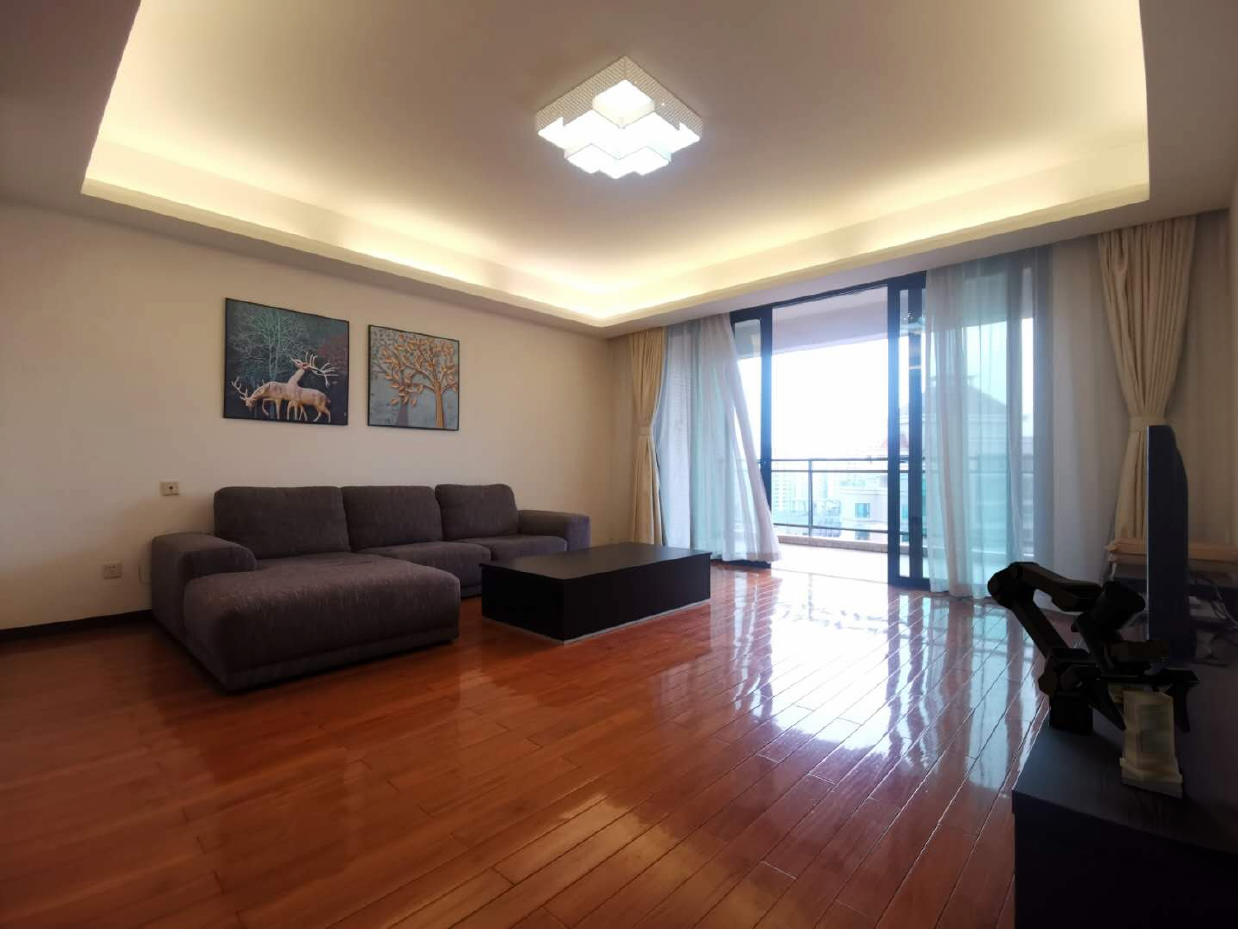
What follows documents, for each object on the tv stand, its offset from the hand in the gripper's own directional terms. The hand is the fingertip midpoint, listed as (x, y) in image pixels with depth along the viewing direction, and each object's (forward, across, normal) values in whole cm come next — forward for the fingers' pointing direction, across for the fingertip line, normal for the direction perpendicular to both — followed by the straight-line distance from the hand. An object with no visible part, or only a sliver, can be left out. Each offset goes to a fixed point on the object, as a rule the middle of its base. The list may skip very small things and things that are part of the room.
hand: (1155, 731), depth 92 cm
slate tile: (+4, +2, +9) cm, 10 cm away
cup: (-19, +19, +32) cm, 41 cm away
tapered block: (+4, 0, +6) cm, 8 cm away
